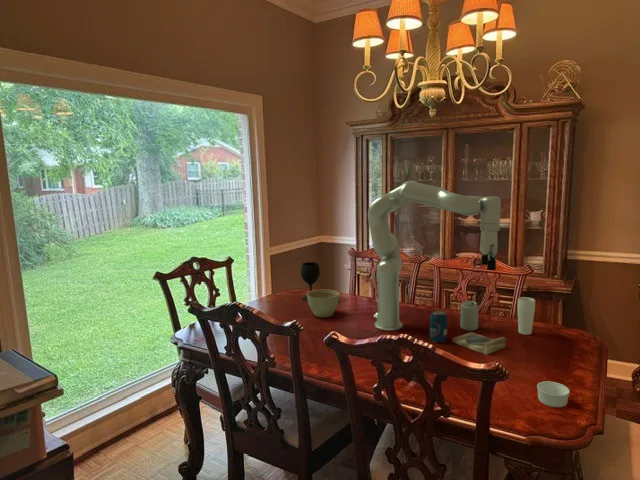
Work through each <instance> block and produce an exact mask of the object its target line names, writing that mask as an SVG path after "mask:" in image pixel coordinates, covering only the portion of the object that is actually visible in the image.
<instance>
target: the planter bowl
mask: <svg viewBox="0 0 640 480" xmlns="http://www.w3.org/2000/svg"><path fill="white" fill-rule="evenodd" d="M306 296H307V299H308V301H307V304H308V306H309V308H310V310H311V311H312V313H313V315H314V316H315V317H317V318H329V317H332V316H333V315H334V312H335V310H336V309H337V308H338V305H339V301H340V300H339V299H340V292H339V291H337V290H333V289H313V290H312V291H310V290H309V292H307V293H306Z"/></svg>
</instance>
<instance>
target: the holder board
mask: <svg viewBox="0 0 640 480" xmlns="http://www.w3.org/2000/svg"><path fill="white" fill-rule="evenodd" d="M506 339H507V338H506V337H504V336H501V337H498V338H494V339H493V338H490V337H487V336H484V335H481V334H478V333H476V332H473V331H469V332H467V333H465V334H462V335H459V336H456V337H453V338H452V343H455V344H457V345H460V346H462V347H465V348H467V349H470V350H473V351H475V352H478V353H480V354H484V355H485V356H486V355H490V354H491V353H493V352H497V351H500V350H501V349H504V348H506Z"/></svg>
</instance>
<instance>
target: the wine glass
mask: <svg viewBox="0 0 640 480" xmlns="http://www.w3.org/2000/svg"><path fill="white" fill-rule="evenodd" d="M320 273H321V269H320V265H319V263H318V262H313V261H310V262H309V261H308V262H303V263H302V265H301V267H300V275H301V279H302V280H303V282H305V283H306V284H307V285H308V286H309V292H310V291H313V290H312V289H313V285H314V284H316V282H317V281H318V279H319V278H320V275H321V274H320ZM301 300H302V301H303V302H308V299H307V295H305V296H303V297H302V298H301Z"/></svg>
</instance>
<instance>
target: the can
mask: <svg viewBox="0 0 640 480" xmlns="http://www.w3.org/2000/svg"><path fill="white" fill-rule="evenodd" d="M461 303H462V304H460V314H459V316H460V317H459V318H460V319H459V321H460V322H459V323H460V324H459V325H460V328H461V329H462V330H464V331H468V332H473V331H476V330H477V329H479V306H478V302H476V301H473V300H464V301H462V302H461Z"/></svg>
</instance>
